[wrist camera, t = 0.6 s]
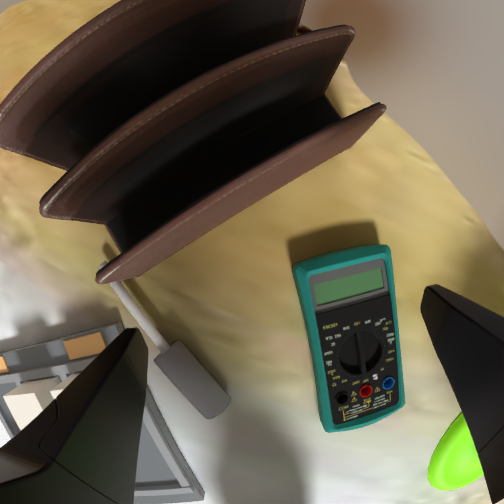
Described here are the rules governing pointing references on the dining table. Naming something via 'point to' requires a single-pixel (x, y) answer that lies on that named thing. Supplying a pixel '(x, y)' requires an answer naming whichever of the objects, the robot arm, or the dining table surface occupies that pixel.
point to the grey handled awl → (179, 363)
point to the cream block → (30, 399)
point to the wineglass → (455, 459)
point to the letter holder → (179, 118)
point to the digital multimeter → (352, 334)
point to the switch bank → (153, 426)
